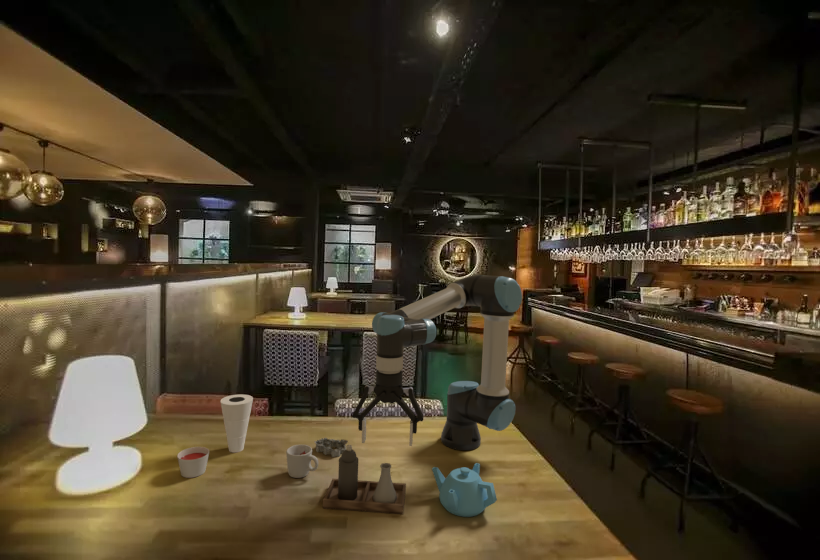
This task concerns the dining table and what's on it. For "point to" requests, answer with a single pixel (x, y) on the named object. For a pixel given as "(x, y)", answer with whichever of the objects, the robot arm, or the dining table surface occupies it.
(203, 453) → the candle
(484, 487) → the teapot
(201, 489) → the dining table surface
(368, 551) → the dining table surface
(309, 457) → the cup
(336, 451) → the egg carton
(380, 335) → the robot arm
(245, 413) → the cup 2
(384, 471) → the flask
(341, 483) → the pepper mill
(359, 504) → the caddy
